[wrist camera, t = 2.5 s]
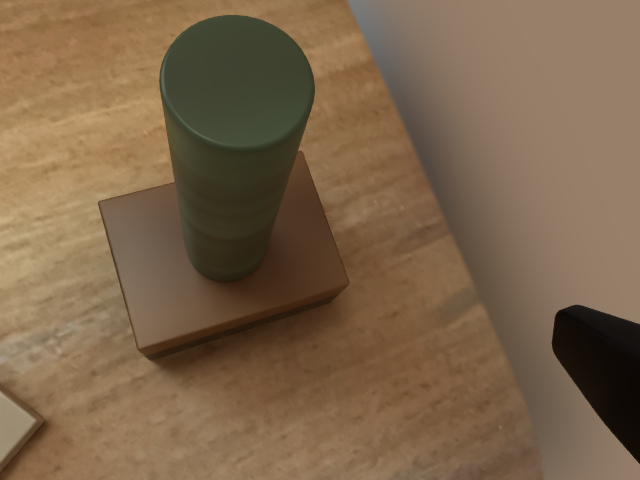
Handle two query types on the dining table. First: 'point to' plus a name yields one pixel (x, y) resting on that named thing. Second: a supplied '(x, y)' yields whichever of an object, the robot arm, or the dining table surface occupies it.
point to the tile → (15, 425)
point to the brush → (226, 195)
